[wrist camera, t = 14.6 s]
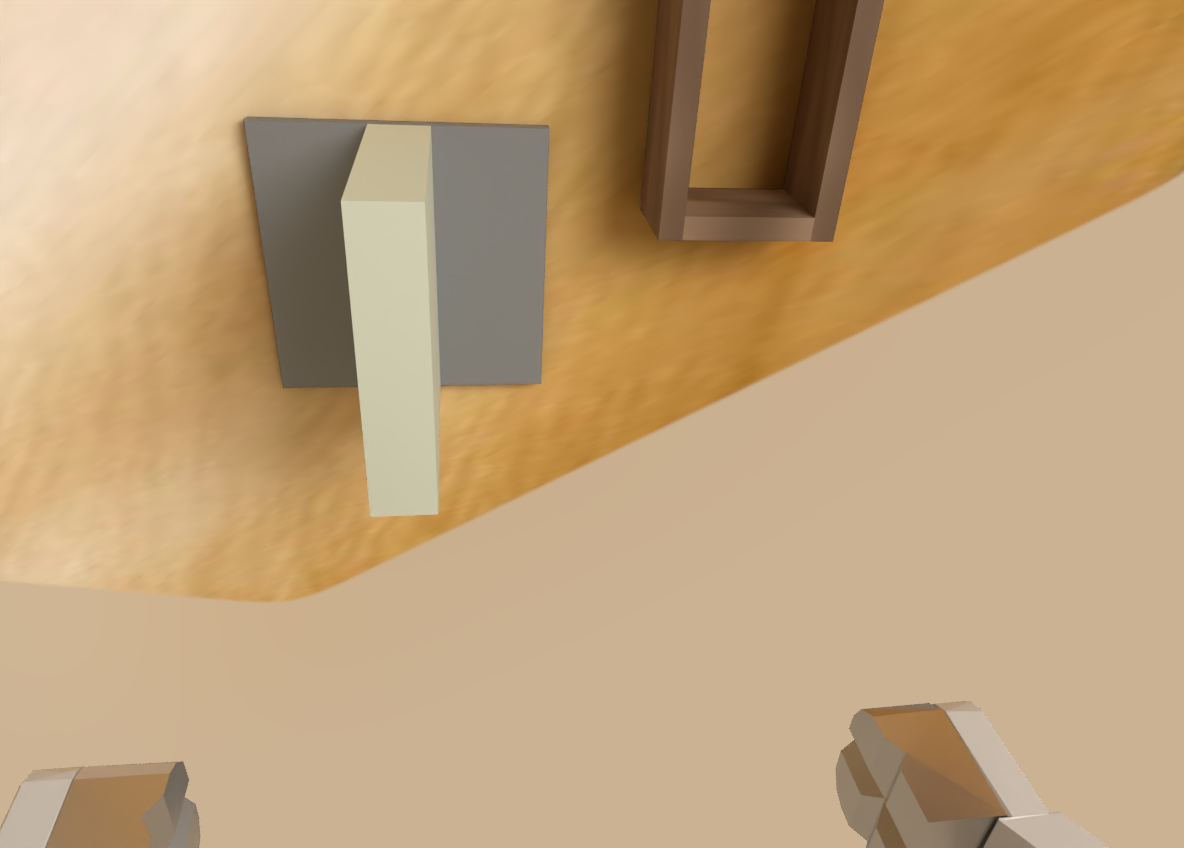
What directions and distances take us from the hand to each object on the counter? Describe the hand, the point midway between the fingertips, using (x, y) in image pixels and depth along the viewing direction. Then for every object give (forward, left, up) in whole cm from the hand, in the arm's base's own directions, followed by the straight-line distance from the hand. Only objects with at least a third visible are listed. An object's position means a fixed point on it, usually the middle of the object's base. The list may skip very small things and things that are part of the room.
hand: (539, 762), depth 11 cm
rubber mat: (-3, -5, -30) cm, 31 cm away
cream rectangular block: (-3, -5, -30) cm, 30 cm away
